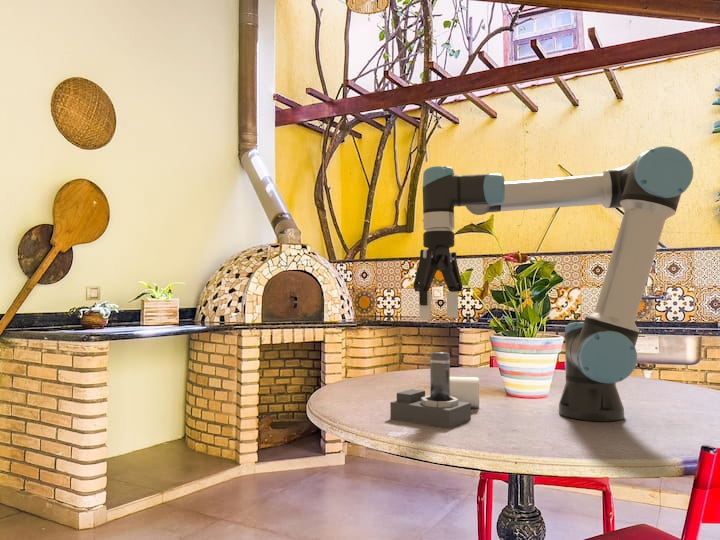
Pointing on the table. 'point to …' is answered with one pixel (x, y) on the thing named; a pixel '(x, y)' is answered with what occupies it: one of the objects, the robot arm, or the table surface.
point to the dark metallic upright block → (440, 376)
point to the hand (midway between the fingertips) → (439, 318)
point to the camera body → (429, 409)
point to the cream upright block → (465, 390)
